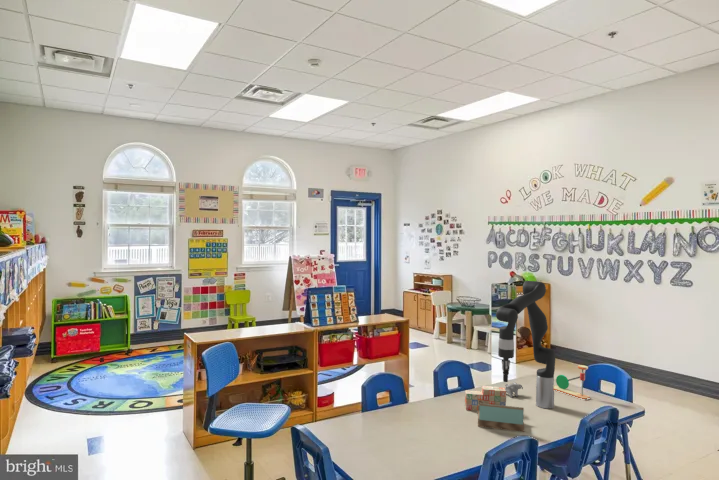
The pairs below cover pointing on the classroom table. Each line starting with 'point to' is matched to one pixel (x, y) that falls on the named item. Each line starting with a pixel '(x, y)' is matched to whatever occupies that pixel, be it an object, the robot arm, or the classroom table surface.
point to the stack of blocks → (485, 397)
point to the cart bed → (500, 425)
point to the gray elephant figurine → (513, 389)
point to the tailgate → (501, 413)
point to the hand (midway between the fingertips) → (505, 381)
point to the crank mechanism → (564, 384)
